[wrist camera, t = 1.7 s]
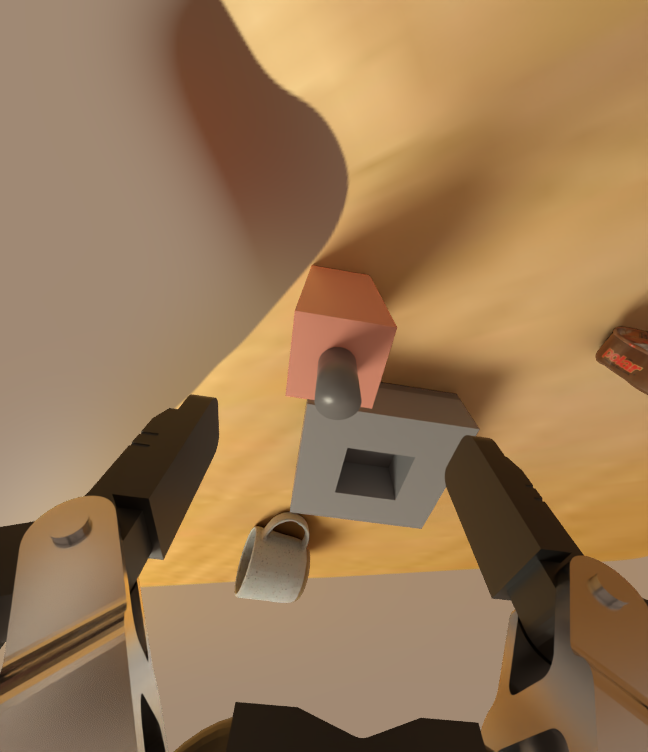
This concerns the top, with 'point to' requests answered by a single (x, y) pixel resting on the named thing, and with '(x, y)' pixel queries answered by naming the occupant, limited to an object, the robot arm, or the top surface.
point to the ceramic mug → (274, 563)
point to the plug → (339, 342)
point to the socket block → (380, 457)
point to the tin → (627, 356)
